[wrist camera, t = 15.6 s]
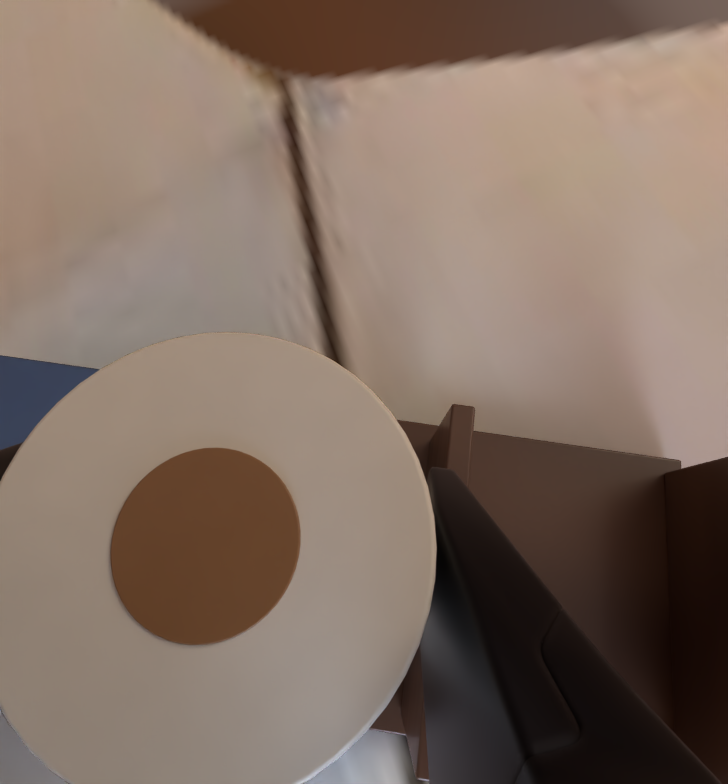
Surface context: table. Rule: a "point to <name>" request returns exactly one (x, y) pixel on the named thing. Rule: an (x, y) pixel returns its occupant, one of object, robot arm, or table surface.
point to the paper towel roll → (210, 567)
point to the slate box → (32, 393)
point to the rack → (604, 566)
